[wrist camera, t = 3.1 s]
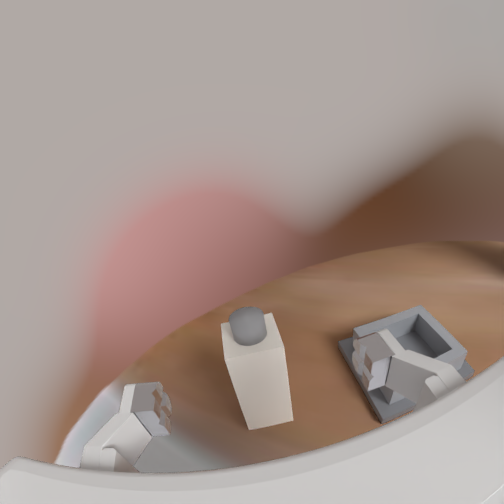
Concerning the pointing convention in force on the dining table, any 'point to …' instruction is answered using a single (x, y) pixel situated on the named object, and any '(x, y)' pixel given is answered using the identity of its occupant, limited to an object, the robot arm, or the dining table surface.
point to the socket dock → (410, 338)
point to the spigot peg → (257, 367)
